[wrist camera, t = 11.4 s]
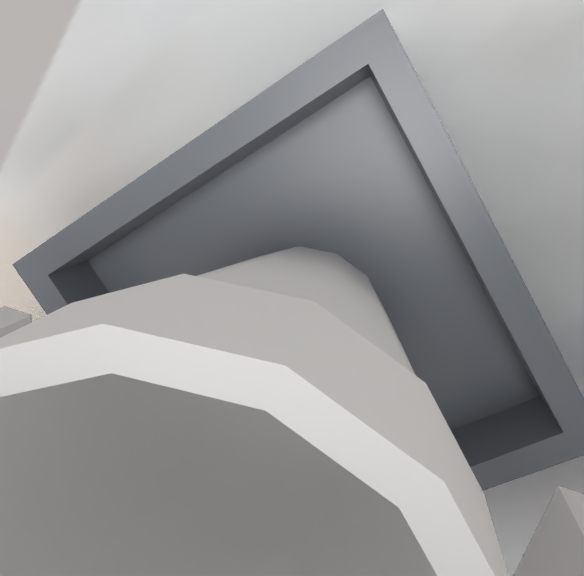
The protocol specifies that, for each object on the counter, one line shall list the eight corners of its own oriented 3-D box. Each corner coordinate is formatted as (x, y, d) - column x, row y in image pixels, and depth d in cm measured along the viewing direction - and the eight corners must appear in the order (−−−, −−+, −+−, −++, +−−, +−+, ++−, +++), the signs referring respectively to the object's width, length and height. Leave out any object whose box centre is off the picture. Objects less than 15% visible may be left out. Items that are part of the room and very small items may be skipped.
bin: (568, 394, 19) (608, 446, 16) (251, 518, 23) (229, 579, 20) (382, 37, 17) (382, 8, 13) (70, 246, 21) (12, 264, 18)
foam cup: (293, 470, 21) (164, 931, 9) (144, 310, 20) (-234, 564, 8) (481, 343, 18) (697, 765, 6) (317, 150, 17) (148, 149, 5)
